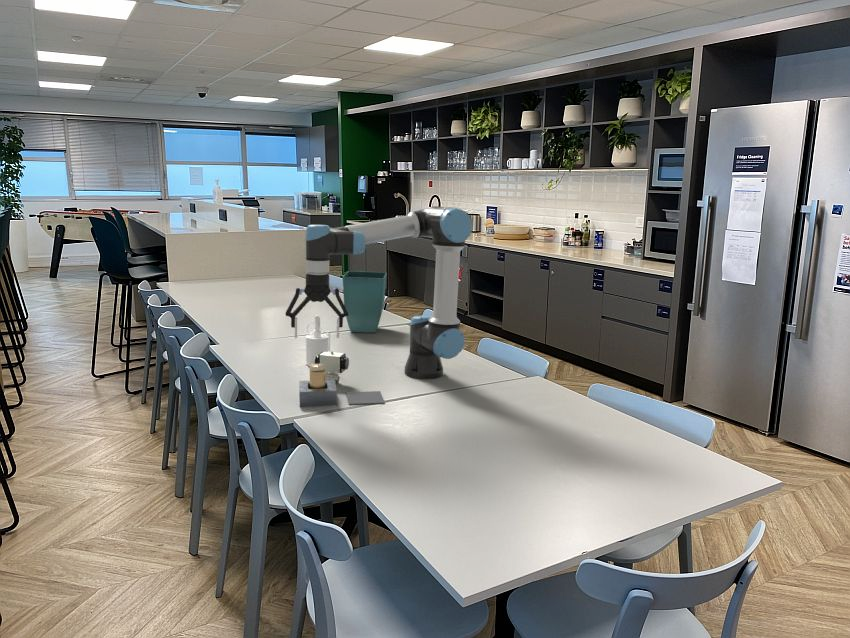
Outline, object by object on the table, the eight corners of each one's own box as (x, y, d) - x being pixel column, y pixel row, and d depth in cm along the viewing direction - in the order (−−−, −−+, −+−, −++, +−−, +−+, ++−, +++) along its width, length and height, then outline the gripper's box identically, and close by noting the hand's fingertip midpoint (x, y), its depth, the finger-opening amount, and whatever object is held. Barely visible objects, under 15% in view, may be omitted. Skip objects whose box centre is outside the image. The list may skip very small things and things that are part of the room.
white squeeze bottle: (313, 368, 249) (313, 318, 244) (301, 363, 255) (300, 314, 251) (335, 364, 255) (336, 316, 251) (323, 359, 262) (323, 312, 258)
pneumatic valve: (344, 386, 228) (345, 354, 226) (314, 383, 231) (314, 351, 228) (349, 381, 234) (350, 350, 231) (319, 378, 236) (319, 347, 234)
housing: (334, 393, 220) (334, 379, 219) (336, 405, 208) (336, 390, 207) (299, 394, 217) (299, 380, 216) (299, 406, 206) (299, 392, 205)
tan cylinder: (325, 397, 216) (325, 363, 213) (325, 402, 211) (325, 367, 208) (309, 397, 215) (309, 363, 212) (310, 402, 210) (309, 368, 207)
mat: (380, 392, 223) (380, 391, 223) (384, 403, 212) (384, 402, 211) (346, 393, 221) (346, 392, 221) (348, 404, 209) (348, 403, 209)
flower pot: (382, 335, 307) (383, 277, 301) (341, 333, 307) (342, 276, 301) (385, 326, 327) (387, 272, 321) (347, 325, 327) (347, 270, 321)
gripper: (355, 272, 210) (353, 334, 214) (278, 270, 205) (278, 334, 209) (357, 275, 203) (355, 339, 207) (277, 274, 198) (277, 339, 202)
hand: (317, 337), depth 208 cm, fingers open, 13 cm apart
